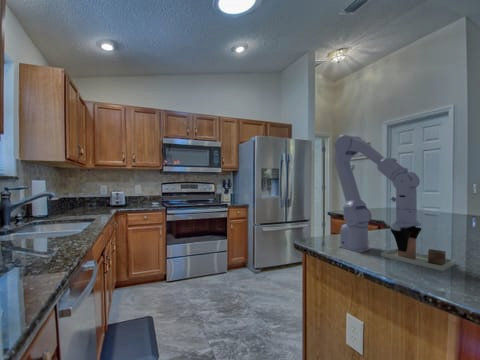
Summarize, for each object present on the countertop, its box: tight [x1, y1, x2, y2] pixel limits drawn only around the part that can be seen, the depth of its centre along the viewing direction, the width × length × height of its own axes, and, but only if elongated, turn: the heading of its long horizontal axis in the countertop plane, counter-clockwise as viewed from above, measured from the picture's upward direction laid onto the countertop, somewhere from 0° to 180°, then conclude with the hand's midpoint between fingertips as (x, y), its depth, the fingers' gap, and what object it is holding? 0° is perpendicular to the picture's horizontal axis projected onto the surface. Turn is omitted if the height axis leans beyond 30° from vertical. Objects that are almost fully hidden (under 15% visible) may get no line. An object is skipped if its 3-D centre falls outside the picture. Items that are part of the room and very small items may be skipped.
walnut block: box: [427, 248, 446, 266], centre depth 79 cm, size 4×4×4 cm
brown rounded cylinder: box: [398, 237, 417, 259], centre depth 85 cm, size 5×5×6 cm
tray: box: [380, 247, 456, 272], centre depth 83 cm, size 17×10×2 cm, turn 35°
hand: (406, 249), depth 86 cm, fingers closed on brown rounded cylinder, 5 cm apart
